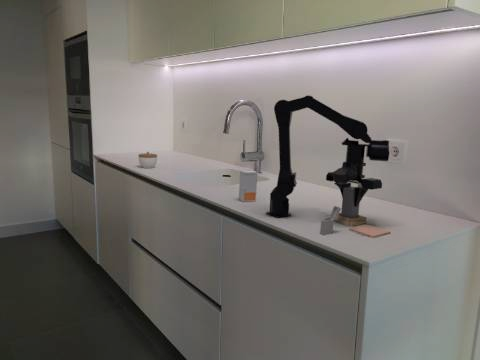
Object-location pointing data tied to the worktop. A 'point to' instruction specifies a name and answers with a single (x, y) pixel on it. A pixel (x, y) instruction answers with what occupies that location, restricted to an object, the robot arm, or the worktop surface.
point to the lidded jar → (147, 160)
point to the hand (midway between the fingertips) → (350, 205)
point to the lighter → (329, 221)
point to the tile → (369, 231)
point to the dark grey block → (349, 203)
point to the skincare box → (248, 186)
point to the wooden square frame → (351, 220)
